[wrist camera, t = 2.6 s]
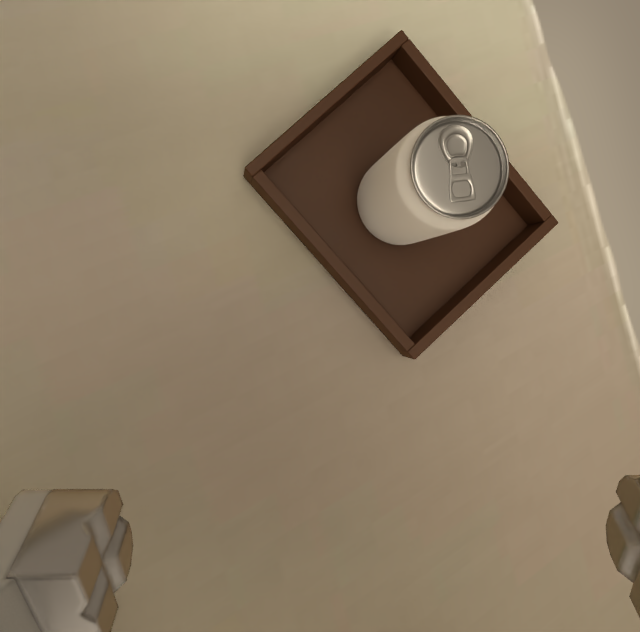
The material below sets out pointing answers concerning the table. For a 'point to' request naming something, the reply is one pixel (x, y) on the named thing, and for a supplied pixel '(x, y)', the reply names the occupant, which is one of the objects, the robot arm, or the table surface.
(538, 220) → the tray
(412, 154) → the can
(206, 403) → the table surface
